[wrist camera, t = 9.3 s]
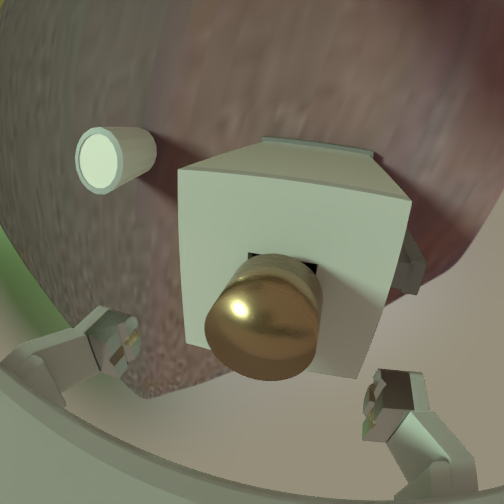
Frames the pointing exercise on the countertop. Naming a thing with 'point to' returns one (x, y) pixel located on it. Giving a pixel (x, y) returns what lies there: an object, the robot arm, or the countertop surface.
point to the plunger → (267, 318)
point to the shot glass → (113, 156)
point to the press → (299, 236)
